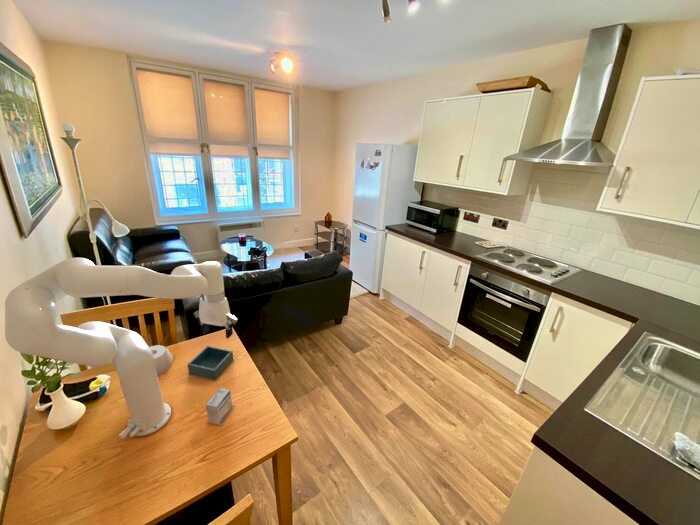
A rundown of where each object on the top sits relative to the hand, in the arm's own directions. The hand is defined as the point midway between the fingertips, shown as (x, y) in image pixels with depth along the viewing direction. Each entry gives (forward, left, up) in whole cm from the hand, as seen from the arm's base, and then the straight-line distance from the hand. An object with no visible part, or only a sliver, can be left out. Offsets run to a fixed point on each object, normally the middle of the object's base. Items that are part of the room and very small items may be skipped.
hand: (217, 334), depth 110 cm
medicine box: (-15, -9, -23) cm, 29 cm away
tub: (+5, +9, -23) cm, 25 cm away
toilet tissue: (-1, +30, -23) cm, 38 cm away
